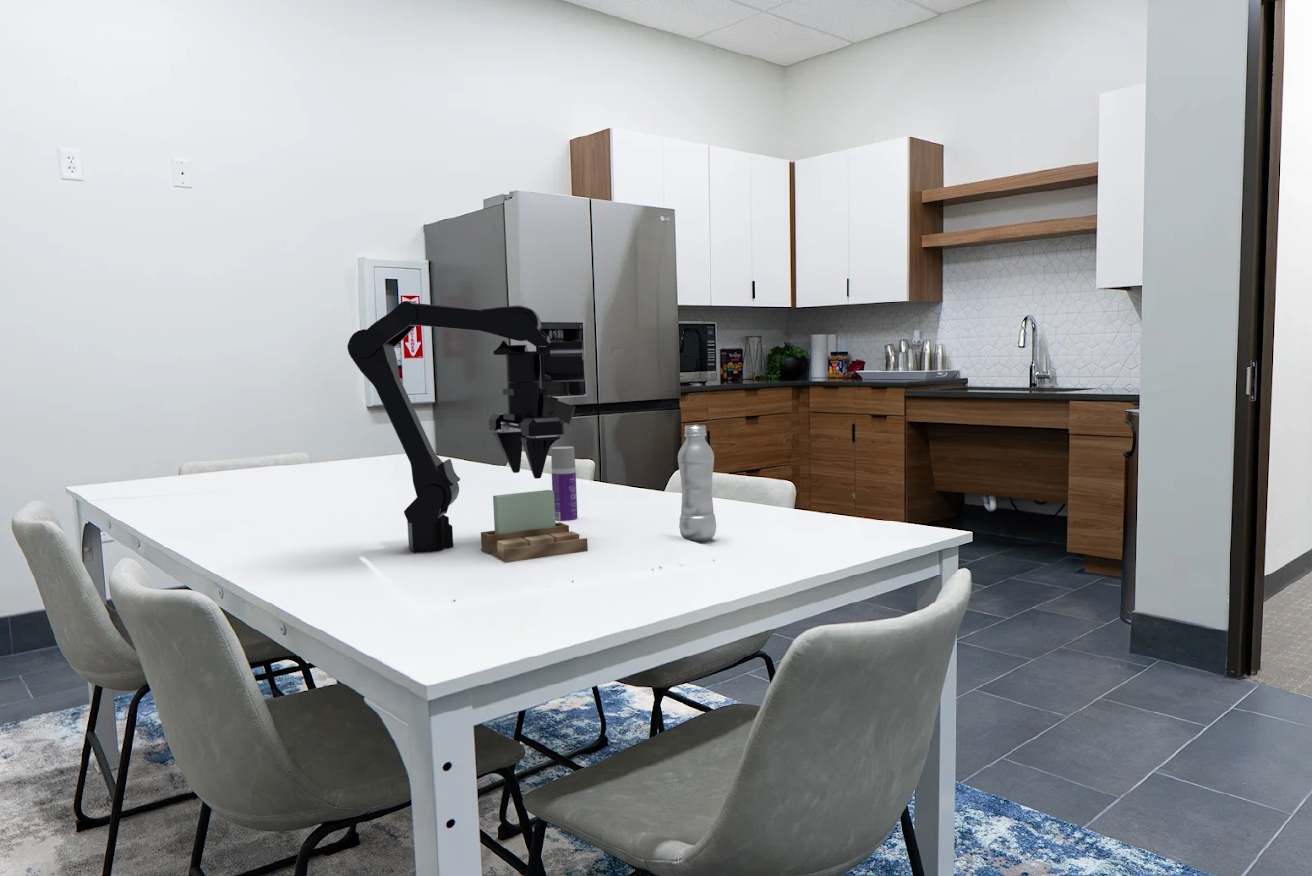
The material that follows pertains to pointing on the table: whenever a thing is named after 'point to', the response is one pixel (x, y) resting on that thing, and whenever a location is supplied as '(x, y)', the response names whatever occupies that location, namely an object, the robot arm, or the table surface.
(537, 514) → the green rectangular block
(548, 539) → the offcut
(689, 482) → the plastic bottle
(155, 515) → the table surface
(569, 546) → the rack
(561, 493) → the container
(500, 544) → the offcut
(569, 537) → the offcut
